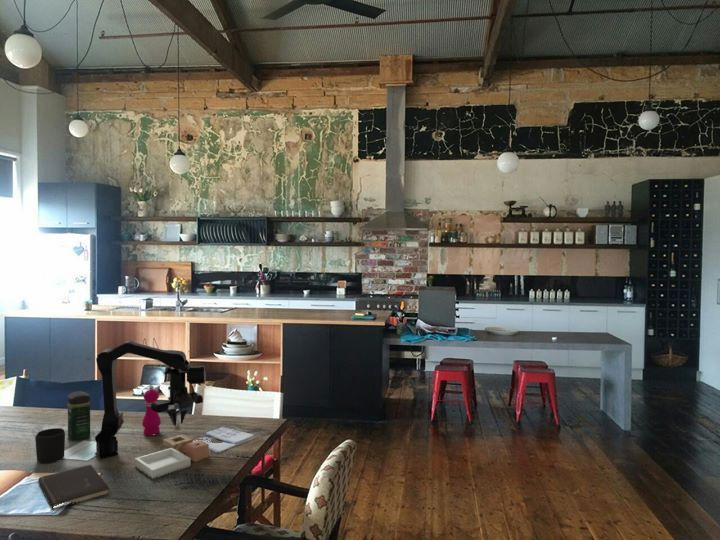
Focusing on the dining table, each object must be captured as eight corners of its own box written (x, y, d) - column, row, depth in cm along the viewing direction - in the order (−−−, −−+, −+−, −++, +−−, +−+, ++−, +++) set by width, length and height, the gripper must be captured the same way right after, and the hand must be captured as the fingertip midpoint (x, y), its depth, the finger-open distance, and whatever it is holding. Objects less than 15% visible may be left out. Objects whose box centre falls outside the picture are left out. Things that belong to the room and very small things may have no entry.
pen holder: (71, 455, 194) (71, 429, 194) (50, 466, 185) (49, 438, 185) (51, 452, 197) (50, 427, 196) (29, 462, 188) (28, 435, 187)
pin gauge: (173, 428, 200) (173, 409, 200) (179, 427, 202) (179, 408, 202) (176, 430, 198) (176, 411, 198) (182, 428, 200) (182, 409, 200)
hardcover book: (91, 470, 183) (90, 464, 183) (109, 495, 165) (109, 488, 165) (38, 484, 172) (38, 477, 172) (52, 511, 155) (52, 504, 155)
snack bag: (255, 439, 214) (255, 434, 214) (217, 455, 197) (217, 450, 197) (223, 429, 225) (223, 425, 224) (185, 444, 208) (185, 439, 208)
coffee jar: (92, 438, 212) (92, 393, 211) (70, 443, 207) (70, 397, 206) (87, 431, 219) (86, 388, 218) (66, 436, 214) (65, 391, 213)
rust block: (194, 461, 190) (194, 448, 190) (185, 457, 194) (185, 444, 194) (208, 457, 195) (208, 444, 194) (200, 452, 199) (200, 439, 199)
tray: (152, 478, 176) (152, 470, 176) (134, 466, 185) (134, 458, 185) (190, 466, 186) (190, 458, 186) (172, 455, 196) (171, 447, 195)
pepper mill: (148, 437, 213) (148, 389, 212) (139, 433, 218) (138, 386, 217) (164, 432, 219) (163, 385, 218) (154, 428, 224) (154, 382, 223)
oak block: (173, 456, 195) (173, 445, 195) (163, 450, 200) (163, 439, 200) (192, 450, 201) (192, 439, 201) (182, 445, 206) (182, 434, 206)
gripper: (164, 393, 187) (164, 436, 188) (210, 384, 201) (210, 423, 201) (150, 387, 195) (150, 428, 195) (195, 378, 208) (195, 416, 209)
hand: (177, 424), depth 200 cm, fingers closed on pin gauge, 2 cm apart
